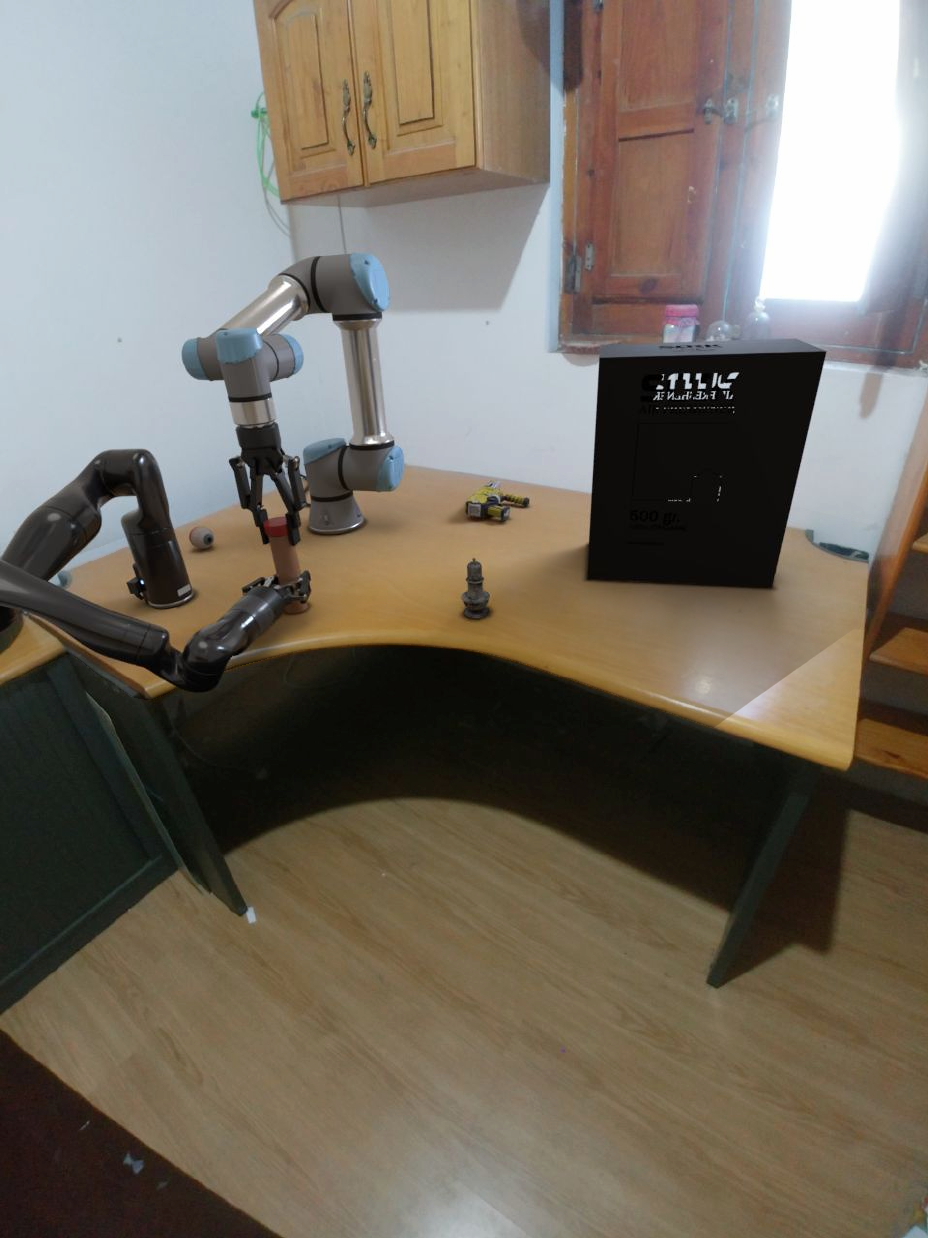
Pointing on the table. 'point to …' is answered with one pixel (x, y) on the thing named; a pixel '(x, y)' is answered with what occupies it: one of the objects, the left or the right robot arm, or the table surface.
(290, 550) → the jar
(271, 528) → the lid
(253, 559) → the table surface
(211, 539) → the eyeball
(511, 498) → the toy gun
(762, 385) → the cardboard box
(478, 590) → the dark grey tiered figure
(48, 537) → the left robot arm
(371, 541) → the table surface
